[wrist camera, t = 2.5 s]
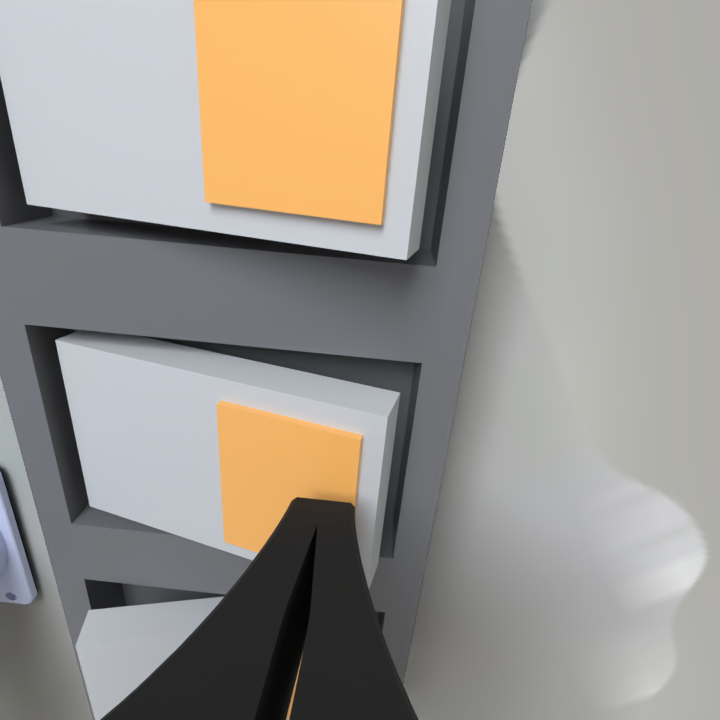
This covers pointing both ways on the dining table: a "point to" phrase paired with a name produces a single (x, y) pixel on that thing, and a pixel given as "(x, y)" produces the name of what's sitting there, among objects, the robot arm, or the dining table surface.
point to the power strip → (260, 336)
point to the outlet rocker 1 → (223, 440)
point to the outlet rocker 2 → (134, 646)
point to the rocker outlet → (230, 114)
